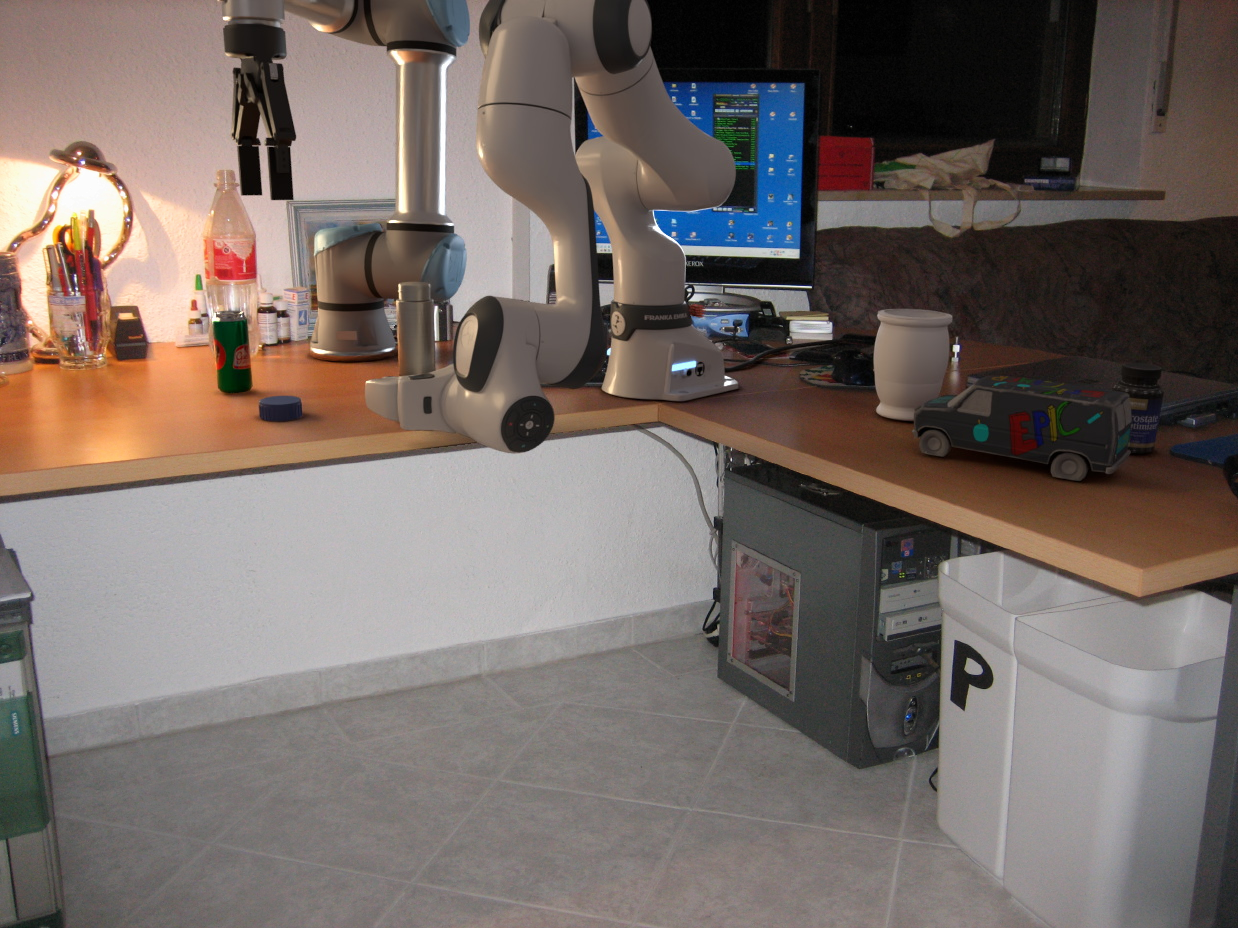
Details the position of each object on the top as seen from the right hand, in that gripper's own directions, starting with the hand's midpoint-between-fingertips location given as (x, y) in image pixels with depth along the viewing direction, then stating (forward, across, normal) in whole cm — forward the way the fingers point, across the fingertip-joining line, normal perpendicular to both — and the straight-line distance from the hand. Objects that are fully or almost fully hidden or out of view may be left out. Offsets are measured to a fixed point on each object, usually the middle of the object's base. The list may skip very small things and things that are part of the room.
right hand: (419, 378), depth 146 cm
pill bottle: (-60, -73, +6) cm, 95 cm away
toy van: (-56, -56, +6) cm, 79 cm away
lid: (+13, +15, +4) cm, 20 cm away
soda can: (+32, +16, +6) cm, 36 cm away
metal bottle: (+1, 0, +6) cm, 6 cm away
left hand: (+13, +15, -24) cm, 31 cm away
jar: (-32, -62, +6) cm, 70 cm away
